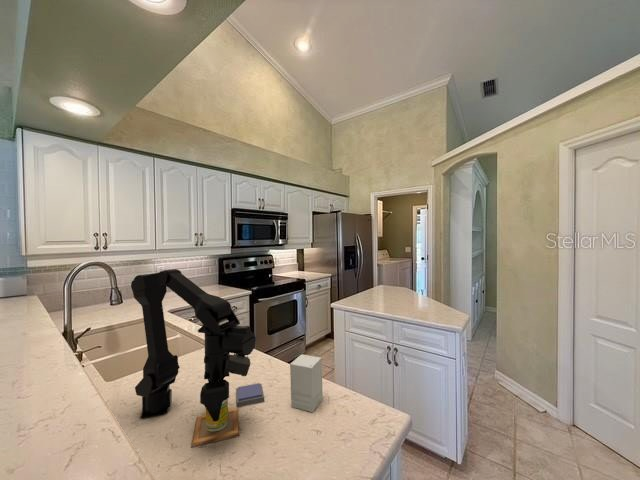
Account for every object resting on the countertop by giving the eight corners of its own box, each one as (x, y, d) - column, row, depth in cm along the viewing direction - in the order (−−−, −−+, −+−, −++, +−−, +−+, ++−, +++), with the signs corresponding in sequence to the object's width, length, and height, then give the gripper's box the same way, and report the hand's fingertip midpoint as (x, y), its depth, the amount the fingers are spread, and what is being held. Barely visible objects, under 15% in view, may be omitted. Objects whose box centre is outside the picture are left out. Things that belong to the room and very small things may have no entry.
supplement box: (323, 398, 79) (322, 357, 79) (312, 413, 72) (311, 368, 72) (302, 393, 82) (301, 353, 82) (290, 406, 75) (289, 363, 75)
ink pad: (236, 407, 75) (236, 400, 75) (236, 392, 83) (236, 386, 83) (264, 401, 78) (264, 395, 78) (261, 387, 85) (261, 381, 85)
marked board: (190, 447, 60) (190, 444, 60) (196, 418, 71) (196, 415, 71) (239, 435, 64) (239, 433, 64) (238, 409, 74) (238, 406, 74)
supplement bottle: (220, 433, 64) (220, 394, 64) (201, 430, 65) (200, 392, 65) (231, 419, 70) (231, 383, 70) (213, 416, 71) (213, 381, 71)
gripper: (250, 359, 62) (251, 425, 61) (246, 334, 79) (246, 385, 79) (199, 367, 58) (200, 437, 58) (206, 339, 76) (207, 392, 75)
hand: (217, 409), depth 68 cm, fingers open, 9 cm apart
